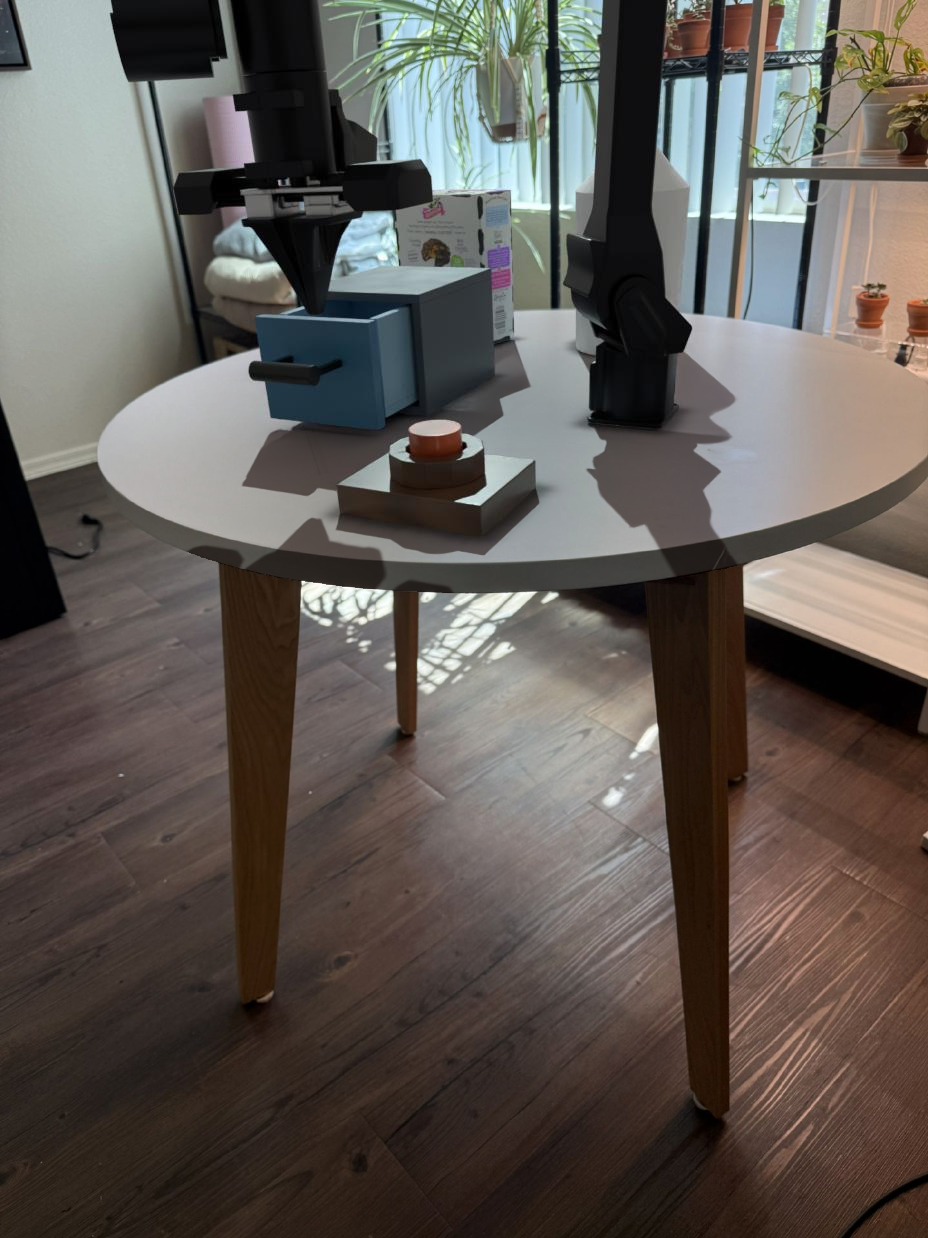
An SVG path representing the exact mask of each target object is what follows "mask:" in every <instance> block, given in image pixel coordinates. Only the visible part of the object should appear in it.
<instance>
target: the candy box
mask: <svg viewBox="0 0 928 1238" xmlns="http://www.w3.org/2000/svg"><path fill="white" fill-rule="evenodd" d="M432 193H433V202H430V203H426V204H422V205H418V206H413V207H409V208H405V209H400V210H393V216H394V228H395V238H396V249H397V250H396V252H397V261H398V266H417V267H463V268H491V271H492V303H493V335H494V345H495V344H500V343H502V342H506V341H509V340H513V339H515V310H514V308H515V307H514V272H513V271H514V270H513V269H514V268H513V265H514V264H513V263H514V262H513V227H512V226H513V225H512V224H513V222H512V221H513V220H512V190H511V189H486V188H485V189H479V188H477V189H476V188H475V189H474V188H473V189H471V188H468V189H467V188H466V189H465V188H464V189H463V188H462V189H461V188H460V189H459V188H458V189H457V188H456V189H455V188H454V189H453V188H451V189H450V188H448V189H447V188H446V189H432Z"/></svg>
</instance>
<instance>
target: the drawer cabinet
mask: <svg viewBox="0 0 928 1238" xmlns="http://www.w3.org/2000/svg"><path fill="white" fill-rule="evenodd" d="M327 300H331V301H355V302H379V303H403V304H412V312H413V326H414V339H415V352H416V366H417V379H418V392H419V400H417V401H415V402H414V403H412V404H410V405H408V406H406V407H405V408H403V409H401V410H399V411H397V412H395V413H394V414H403V415H404V414H405V415H412V416H423V417H429V416H431V415H432V414H434V413H435V412H437V411H439V410H441V409H442V408H444V407H447V406H448V405H450V404H451V403H453V402H454V401H457V400H458V399H460V398H461V397H463V396H464V395H466V394H468V393H469V392H471V391H473V390H475V389H476V388H478V387H479V386H481V385H483V384H485V383H487V382H488V381H490V380H491V379H493V378H495V377H496V370H495V369H496V368H495V367H496V366H495V344H494V335H493V303H492V271H491V268H463V267H417V266H399V265H380V266H376V267H373V268H370V269H366V270H363V271H359V272H356V273H351V274H349V275H345V276H343V277H340V278H335V279H332V280H330V285H329V290H328V295H327ZM302 306H303V304H302V303H301V302H300V307H302Z"/></svg>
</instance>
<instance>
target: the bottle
mask: <svg viewBox="0 0 928 1238" xmlns="http://www.w3.org/2000/svg"><path fill="white" fill-rule="evenodd" d="M594 173H595V168H594V169H593V170H592V171H591V173H590V174H589V175H588V176H587V177H586V178H585V179H584V180H583V182H582V183H581V184H580V185H579V186H578V187H577V188H576V190H575V234H579V235H583V232H584V230H585V227H586V225H587V222H588V220H589V217H590V214H591V211H592V206H593V194H594ZM690 193H691V186H690V185H689V183H688V182H687V181H686V180H685V179H684V178H683V176H682V175H681V174H679V172H678V171H677V170H676V169H675V167H674V166H673V165H672V163H671V162H670V161H669V160H668V158H667V156H665V154H664V153H663V151H662V150H661V148H660V147H659V146H658V145H657V147H656V160H655V172H654V185H653V198H652V212H653V217H654V221H655V225H656V228H657V232H658V236H659V240H660V243H661V247H662V251H663V260H664V275H665V290H666V297H665V298H666V299H667V300H668V301H669V302H670V303H671V304H672V305H673V306H674V307H675V308H676V309H677V310H678V311H679V312H680V307H681V296H682V282H683V272H684V263H685V261H684V259H685V248H686V239H687V238H686V237H687V227H688V216H689V215H688V214H689V203H690ZM603 341H604V340H602V339H600V338H596V337H595V336H594V333H593V330H592V327H591V324H590V321H589V320H588V319H587V318H585V317H583V316H582V315H581V313H580V312H579V311H578V310H577V309H576V308H575V348H576V350H577V351H579V352H581V353H584V354H587V355H592V356H596V346H597V345H599V344H600V343H602V342H603Z"/></svg>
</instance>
